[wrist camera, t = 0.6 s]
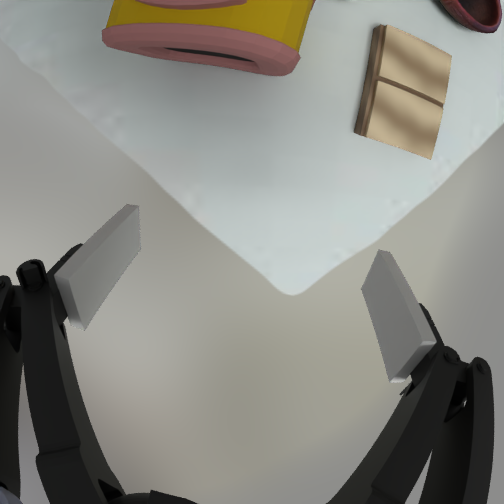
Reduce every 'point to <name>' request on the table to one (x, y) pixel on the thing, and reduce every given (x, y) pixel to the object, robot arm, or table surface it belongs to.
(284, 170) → the table surface
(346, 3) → the table surface
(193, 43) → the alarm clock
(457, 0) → the bowl
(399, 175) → the table surface
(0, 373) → the robot arm
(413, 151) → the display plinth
